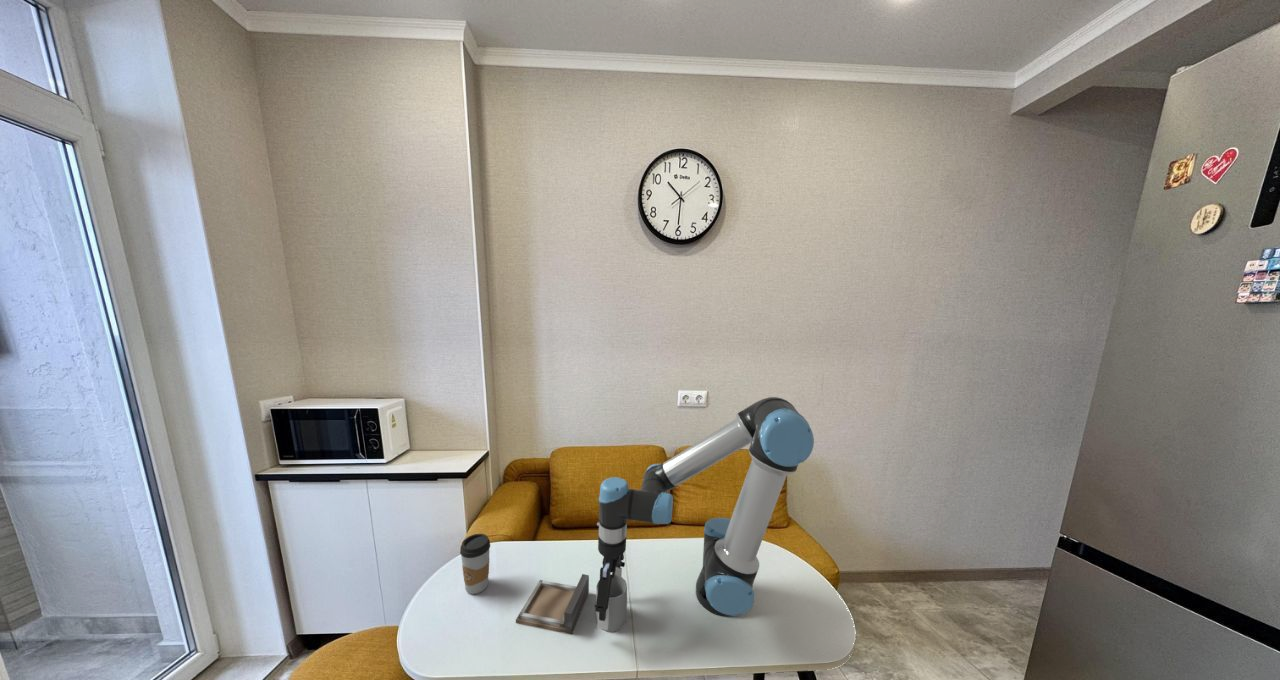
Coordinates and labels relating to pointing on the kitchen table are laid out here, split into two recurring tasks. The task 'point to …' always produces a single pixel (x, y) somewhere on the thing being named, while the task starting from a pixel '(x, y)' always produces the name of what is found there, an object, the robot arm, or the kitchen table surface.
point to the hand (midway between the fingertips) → (610, 606)
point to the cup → (616, 604)
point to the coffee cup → (475, 562)
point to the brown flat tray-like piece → (555, 605)
